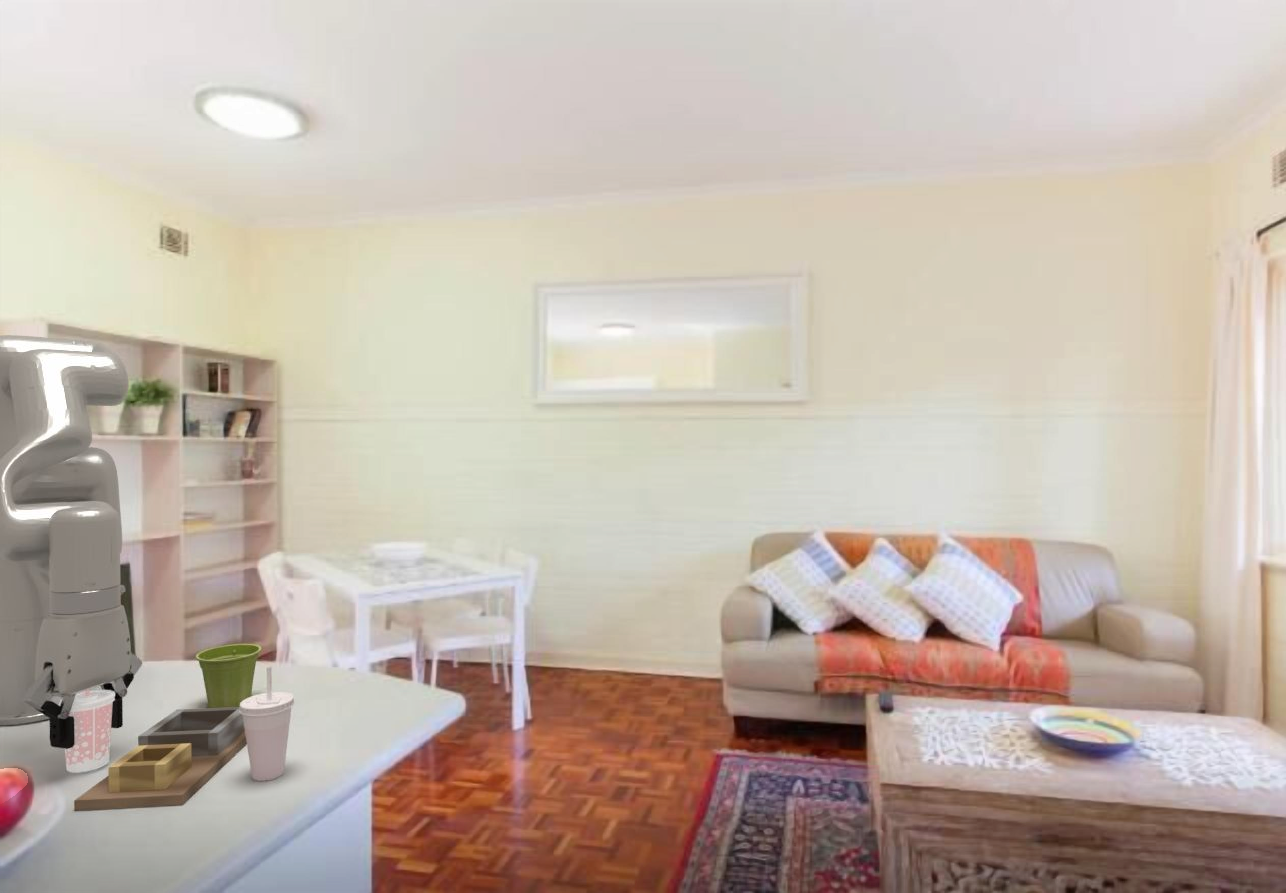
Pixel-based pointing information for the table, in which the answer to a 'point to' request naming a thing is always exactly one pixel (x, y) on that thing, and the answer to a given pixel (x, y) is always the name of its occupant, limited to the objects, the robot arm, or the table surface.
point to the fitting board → (170, 760)
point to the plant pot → (228, 673)
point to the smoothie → (267, 730)
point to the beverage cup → (90, 730)
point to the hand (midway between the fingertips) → (87, 735)
